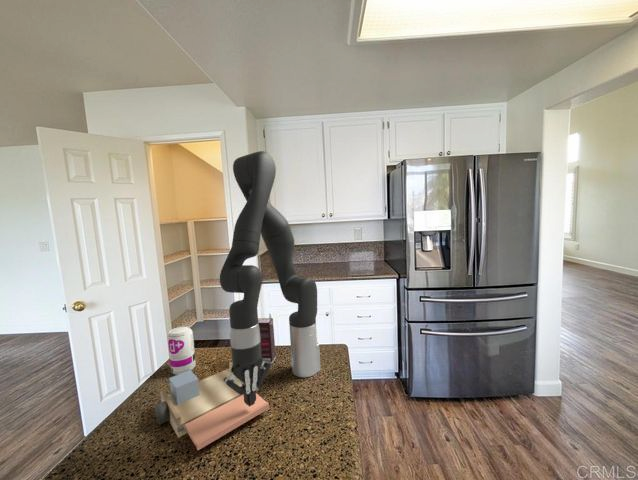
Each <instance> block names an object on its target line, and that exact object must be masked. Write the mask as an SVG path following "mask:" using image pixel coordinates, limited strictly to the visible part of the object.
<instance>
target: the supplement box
mask: <svg viewBox="0 0 638 480" xmlns="http://www.w3.org/2000/svg"><path fill="white" fill-rule="evenodd" d="M258 324H259V329H260V340H261V357H262V359H263V361H264V360H265V361H267V362H268V363H270V364H273V363H274V362H275V360H276V358H277V357H276V355H277V354H276V342H275V329H274V318H272V317H269V318H268V317H267V318H259V317H258Z"/></svg>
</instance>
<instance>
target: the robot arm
mask: <svg viewBox="0 0 638 480" xmlns="http://www.w3.org/2000/svg"><path fill="white" fill-rule="evenodd" d="M232 171H233V176H234V179H235V181H236V183H237V185H238V188H239V189H240V191H241V193H242V195H243V197H244V198H245V201H246V203H245V205H244V206H243V208H242V210H241V211H240V213H239V215H238V217H237V219H236V222H235V224H234V229H233V234H232V242H231V247H230V250H229V252H228V253H227V257H226V259H225V261H224V263H223V265H222V267H221V270H220V273H219V284H220V287H221V288H222V290H223V291H224V292H226V293H233V294H234V293H235V294H243V298H242V299H241V300H236V301H234V302H232V303H231V304H230V305H229V310H228V311H229V325H230V331H229V338H230V351H231V353H230V354H231V362H232V363H233V365H232V368H231V374H230V375H229V376H228V377H225V378H224V380H223V381H224V382H225V383H226V384H227V385H228V386H229V387H230V388H232V389H233V390H234V391H236V392H237V393H239V394H240V395H243V394H244V402H245V403H246V404H247V405H248V406H249V407H250V406H252V405H253V404H255V401H256V393H257V392H256V388H258V387H259V386H262V384H263V382H264V380H265V379H266V377H267V374H268V373H269V370H270V368H271V364H270V363H268V362H267V361H265V360H264V361H263V359H262V357H261V340H260V329H259V324H258V318H259V315H258V314H259V311H258V305H259V300H260V299H259V298H260V293H261V289H262V285H263V284H262V283H263V274H262V271H261V270H260V268H258V267H257V266H256V265H252V264H251V265H250V264H247V265H245V264H244V263H245V261H246V260H248V259H251V258H255V257H256V256H257V255H258V254H259V250H260V245H261V244H260V243H261V238H262V239H263V242H264V244H265V247H266V249H267V252H268V254H269V256H270V259H271V262H272V265H273V267H274V270H275V273H276V276H277V279H278V283H279V286H280V291H281V293H282V296H283V297H284V299H285V300H286V301H287V302H289V303H292V304H297V311H294V312H292V313H290V315H289V317H288V323H289V341H290V352H291V353H290V355H291V370H292V374H293V375H294V376H295V377H298V378H310V377H312V376H315V375H316V374H317V373H319V372H321V354H320V352H321V351H320V344H319V342H318V337H317V335H318V332H317V314H318V287H317V284H316V282H315V280H314V279H313V278H312V277H306V276H299V275H298V274H297V272H296V270H295V267H294V265H293V264H294V263H293V254H294V249H295V237H294V234H293V232H292V229H291V226H290V224H289V222H288V220H287V219H286V217H285V216H284V215H283V214H282V213H281V212H280V211H279V210H277V209H276V208H275V207H274V205H272V204H271V203H270V201H269V199H270V196H271V192H272V189H273V187H274V182H275V179H276V173H277V172H276V171H277V169H276V164H275V161H274V159H273V157H272V155H271V154H270V153H268V152H267V151H263V150H262V151H261V150H260V151H257V152H252V153H249V154H245V155H242V156H240V157H237V158H236V159H235V160H234V161H233V164H232ZM235 376H236V377H237V378H238V379H239V380H240V382H241V385H242V387H239V386H238V385H237V384H236V383H235V381H236V380H235Z"/></svg>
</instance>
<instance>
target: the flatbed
mask: <svg viewBox="0 0 638 480" xmlns="http://www.w3.org/2000/svg"><path fill="white" fill-rule="evenodd" d="M232 365H233V363H232V361H230V362H228V368H227V369H224V370H222V371H219V372H217V373H215V374H213V375H210V376H207V377H205V378H204V379H201V380H198V381H199V392H200V395H199V396H196V397H194V398H192V399H190V400H188V401H186V402H183V403H181V404H179V405H177V403H176V402H175V400H174V398H173V397H172V395H171V392H170V393H168V394H167V392H166V390H165V389H162V390H160V391H159V392H160V400H161V402H160V403H158V404H156V405H154V413H155V417H156V422H157V425H158V426H161V425H163V424H165V423H167V422H169V423H170V425H171V427H172V429H173V431H174V432H175V434H176V436H177V438H180V437H182V436H184V435H186V434H188V433H187V431H186V429H185V424H187V423H189V422H191V421H193V420H195V419H197V418H199V417H201V416H203V415H205V414H206V413H208V412H210V411H212V410H214V409H216V408H218V407H220V406H222V405H224V404H226V403H228V402H230V401H232V400H234V399H236V398H238V397H240V396H242V395H240V394H239V393H237V392H236V391H234V390H233V389H232V388H230V387H229V386H228V385H227V384H226V383H225V382H224V381H223V380H224V378H225V377H228V376H229V375H230V374H231V368H232ZM235 380H236V381H235V383H236V384H237V385H238V386H239V387H242V385H241V382H240V380H239V379H238V378H237V377H236V376H235ZM258 391H259V388H258V387H257V388H256V393H257V392H258Z"/></svg>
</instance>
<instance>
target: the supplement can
mask: <svg viewBox="0 0 638 480" xmlns="http://www.w3.org/2000/svg"><path fill="white" fill-rule="evenodd" d="M193 332H194V331H193V330H192V329H191V326H187V325H185V326H177V327H175V328H172V329H171V330H169V331H168V335H167V345H168V356H169V365H170V366H169V367H170V373H172V374H174V375H175V376H176V375H179V374H181V373H184V372H186V371H189V370H191V371H192V370H194V369H195V367H196V366H197V363H196V354H195V353H196V352H195V341H194V333H193Z"/></svg>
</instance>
